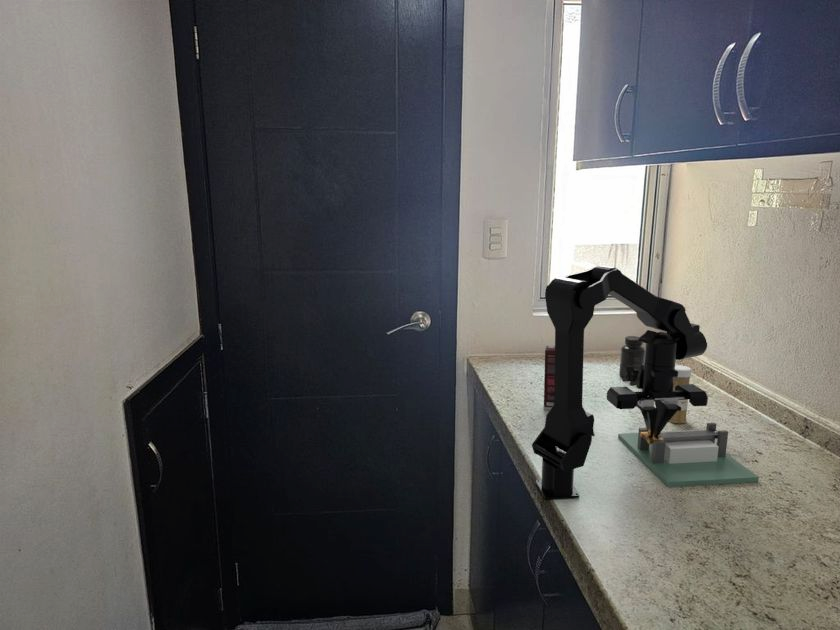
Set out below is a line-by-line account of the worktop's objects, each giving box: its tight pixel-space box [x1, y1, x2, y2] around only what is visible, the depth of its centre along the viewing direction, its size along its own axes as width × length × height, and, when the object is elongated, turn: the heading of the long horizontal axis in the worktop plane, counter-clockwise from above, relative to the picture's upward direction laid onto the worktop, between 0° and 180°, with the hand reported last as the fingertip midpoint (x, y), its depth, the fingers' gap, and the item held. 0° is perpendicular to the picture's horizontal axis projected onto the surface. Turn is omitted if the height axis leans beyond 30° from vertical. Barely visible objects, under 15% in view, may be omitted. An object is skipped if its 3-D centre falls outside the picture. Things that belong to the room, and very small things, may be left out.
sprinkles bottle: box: [668, 364, 692, 424], centre depth 137 cm, size 5×5×13 cm
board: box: [617, 422, 760, 488], centre depth 118 cm, size 22×18×6 cm
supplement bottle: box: [618, 335, 645, 378], centre depth 169 cm, size 7×7×12 cm
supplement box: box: [543, 345, 555, 411], centre depth 145 cm, size 9×5×16 cm, turn 74°
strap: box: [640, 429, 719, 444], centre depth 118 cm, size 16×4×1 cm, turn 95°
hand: (653, 435), depth 117 cm, fingers closed, pressing on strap
